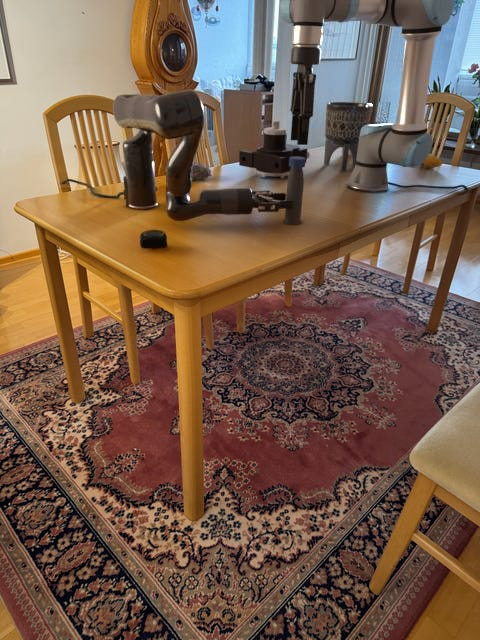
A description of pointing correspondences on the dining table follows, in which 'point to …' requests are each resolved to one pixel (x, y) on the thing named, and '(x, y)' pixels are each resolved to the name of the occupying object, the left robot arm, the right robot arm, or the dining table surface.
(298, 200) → the bottle
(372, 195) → the dining table surface
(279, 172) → the mechanical component
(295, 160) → the cap
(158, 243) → the tape measure
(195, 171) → the rock
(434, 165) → the toy
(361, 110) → the planter
